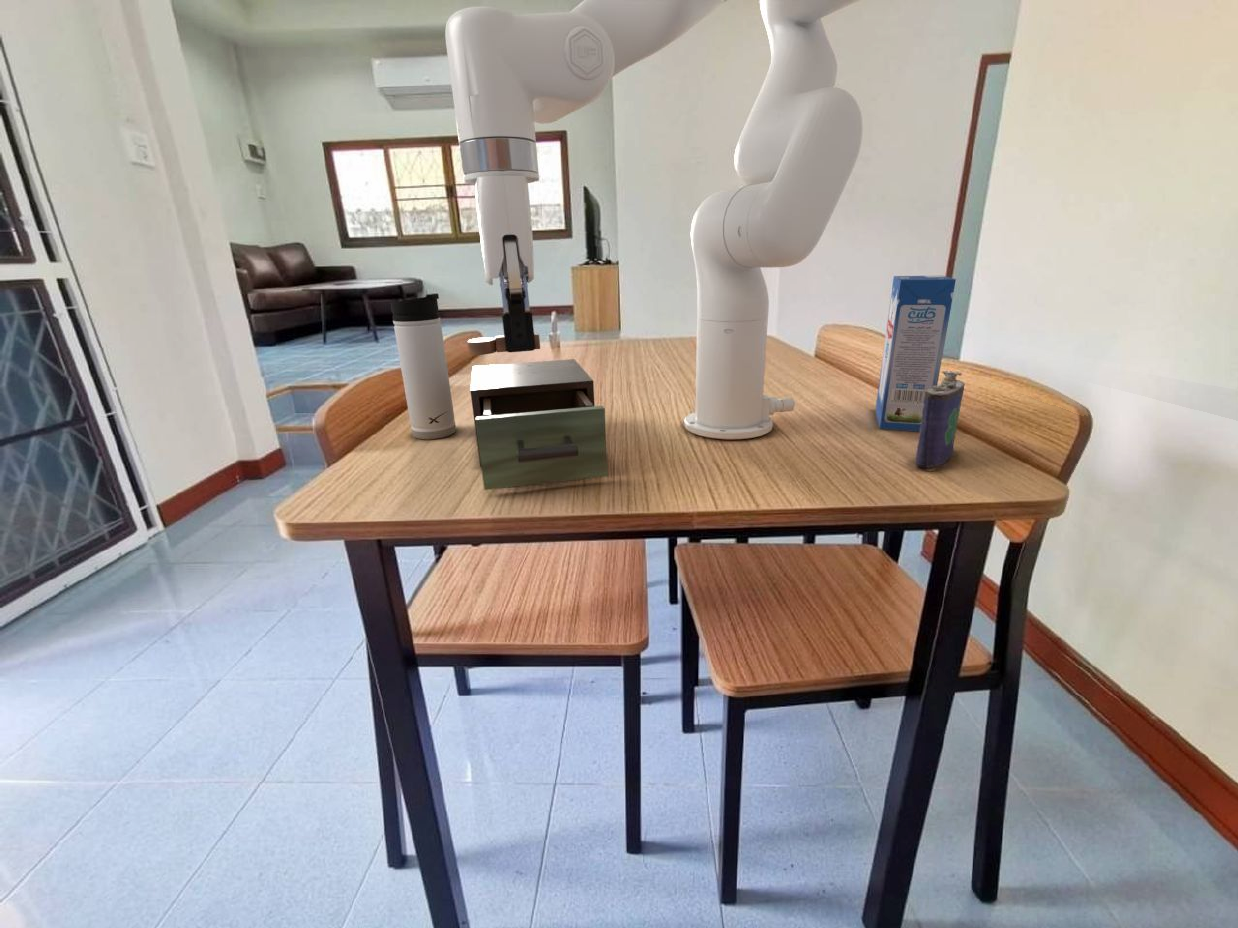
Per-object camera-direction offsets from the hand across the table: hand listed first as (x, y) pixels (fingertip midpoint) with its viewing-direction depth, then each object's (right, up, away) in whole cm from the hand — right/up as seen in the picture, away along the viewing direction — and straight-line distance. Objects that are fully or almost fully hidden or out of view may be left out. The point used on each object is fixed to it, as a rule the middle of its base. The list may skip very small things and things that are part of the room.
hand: (520, 348), depth 63 cm
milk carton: (+52, -7, +19) cm, 56 cm away
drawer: (+2, -13, +3) cm, 14 cm away
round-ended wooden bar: (-1, 0, 0) cm, 1 cm away
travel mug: (-16, -9, +21) cm, 28 cm away
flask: (+49, -13, +4) cm, 51 cm away
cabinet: (-1, -10, +15) cm, 18 cm away
